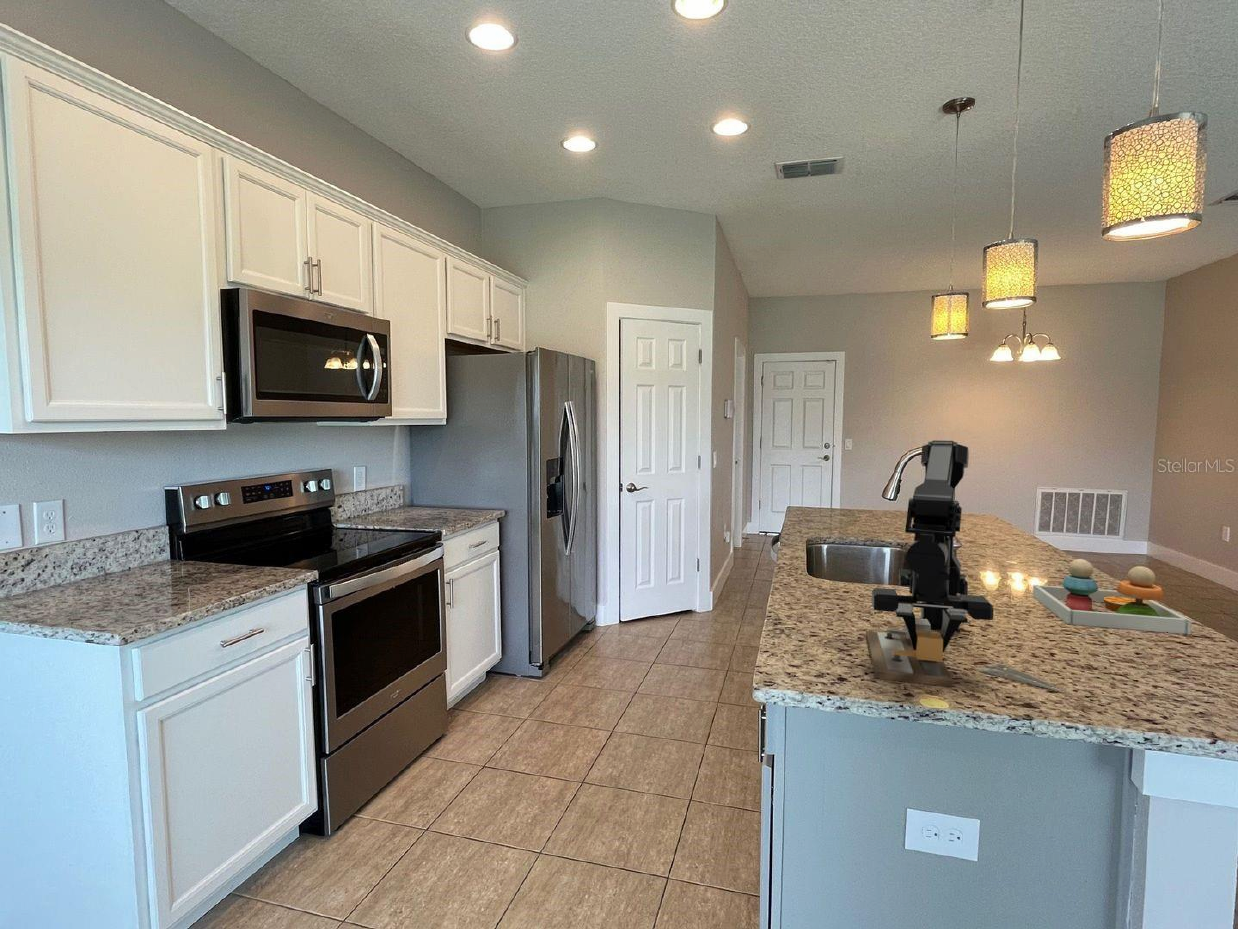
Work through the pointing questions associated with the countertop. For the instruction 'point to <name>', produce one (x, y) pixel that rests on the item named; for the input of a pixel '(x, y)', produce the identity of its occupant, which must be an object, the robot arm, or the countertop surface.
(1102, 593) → the parts tray
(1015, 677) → the grey tweezers
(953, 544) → the robot arm
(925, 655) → the orange block with tab
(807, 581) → the countertop surface
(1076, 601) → the colourful wooden stacking toy
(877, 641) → the board
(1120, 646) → the countertop surface
